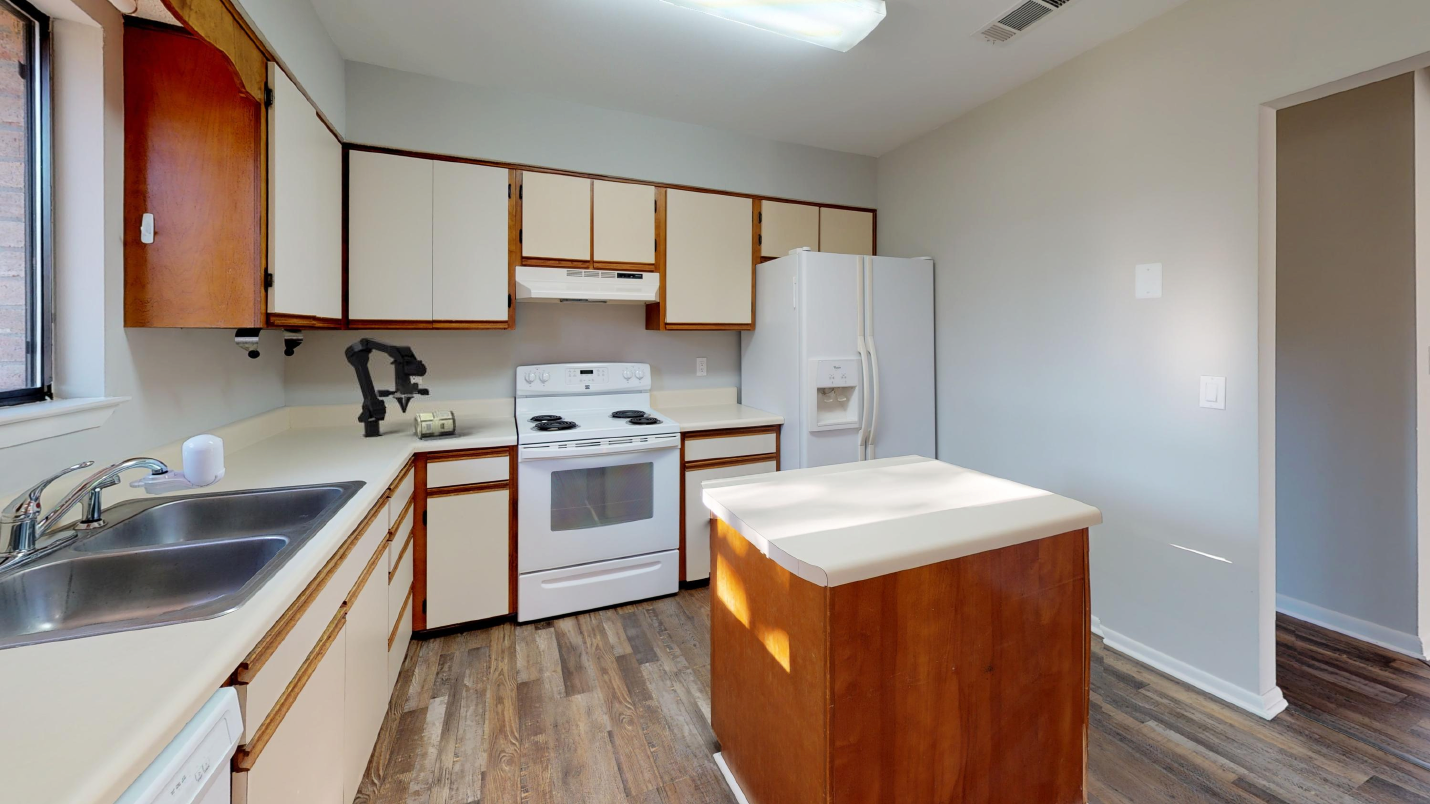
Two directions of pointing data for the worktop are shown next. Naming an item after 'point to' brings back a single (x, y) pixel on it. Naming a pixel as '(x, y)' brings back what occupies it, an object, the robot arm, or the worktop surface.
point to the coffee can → (434, 424)
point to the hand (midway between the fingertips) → (404, 413)
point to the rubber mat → (438, 437)
